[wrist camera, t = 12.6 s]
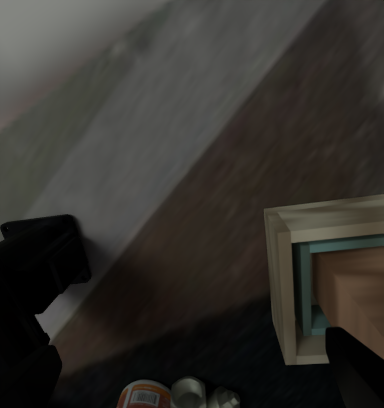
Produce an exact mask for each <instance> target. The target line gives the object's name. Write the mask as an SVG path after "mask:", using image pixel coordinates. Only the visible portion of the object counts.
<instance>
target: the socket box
mask: <svg viewBox="0 0 384 408" xmlns="http://www.w3.org/2000/svg"><path fill="white" fill-rule="evenodd" d="M264 218H265V230H266V243H267V256H268V268H269V281H270V294H271V306H272V319H273V324H274V327H275V330H276V334H277V337H278V340H279V344H280V347H281V350H282V354H283V357H284V360H285V364H286V365H299V364H319V363H329V360H328V357H327V354H326V349H325V330H326V328H327V327H331V325H330V323H329V321H328V320H327V318H326V316H325V314H324V313H323V311H322V309H321V307H320V306H319V304H318V302H317V300H316V299H315V297H314V295H313V270H312V253H316V252H326V251H336V250H346V249H356V248H366V247H376V246H383V247H384V194H382V195H374V196H365V197H357V198H349V199H341V200H333V201H325V202H316V203H308V204H300V205H292V206H284V207H276V208H267V209H264Z"/></svg>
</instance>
